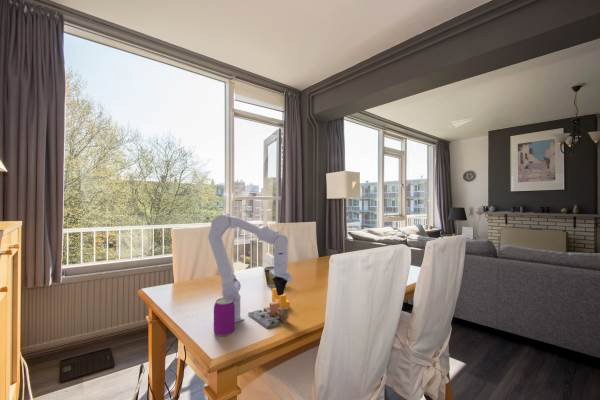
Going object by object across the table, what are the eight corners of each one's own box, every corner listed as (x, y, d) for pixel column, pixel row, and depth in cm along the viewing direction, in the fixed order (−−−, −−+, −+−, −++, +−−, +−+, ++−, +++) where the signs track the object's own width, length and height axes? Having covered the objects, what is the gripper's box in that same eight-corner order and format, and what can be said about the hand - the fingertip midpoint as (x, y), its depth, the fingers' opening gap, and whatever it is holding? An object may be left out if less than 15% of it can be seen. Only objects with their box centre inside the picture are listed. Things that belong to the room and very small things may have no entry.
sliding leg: (260, 317, 118) (260, 307, 118) (257, 315, 120) (257, 306, 120) (279, 312, 124) (279, 302, 124) (276, 310, 125) (276, 301, 125)
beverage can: (235, 327, 113) (235, 296, 113) (233, 336, 105) (234, 303, 105) (215, 328, 112) (215, 297, 112) (212, 337, 104) (212, 304, 104)
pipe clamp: (289, 308, 133) (289, 294, 133) (280, 310, 131) (281, 295, 131) (280, 300, 144) (280, 287, 143) (272, 301, 142) (272, 288, 142)
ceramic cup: (280, 288, 162) (280, 270, 162) (263, 287, 163) (263, 270, 163) (282, 281, 175) (282, 264, 175) (266, 281, 176) (266, 264, 176)
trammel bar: (269, 327, 113) (269, 313, 113) (250, 315, 124) (250, 302, 124) (288, 321, 118) (288, 308, 118) (269, 310, 130) (269, 298, 130)
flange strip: (267, 328, 112) (267, 324, 112) (248, 315, 124) (248, 311, 124) (280, 324, 115) (280, 320, 115) (260, 312, 128) (260, 308, 128)
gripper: (298, 264, 118) (298, 297, 118) (278, 258, 130) (278, 288, 130) (284, 266, 114) (284, 301, 114) (265, 260, 125) (265, 291, 126)
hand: (280, 294), depth 122 cm, fingers closed
